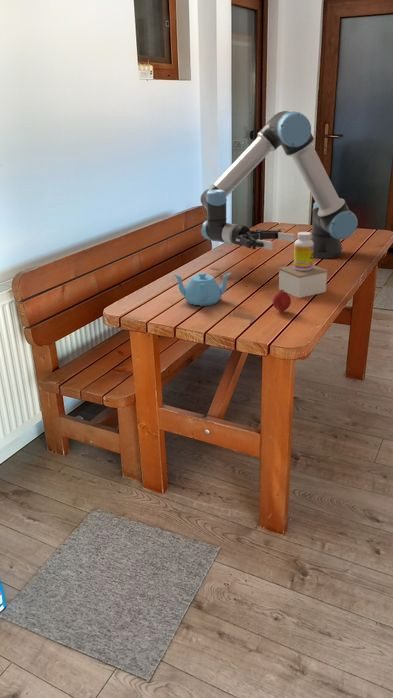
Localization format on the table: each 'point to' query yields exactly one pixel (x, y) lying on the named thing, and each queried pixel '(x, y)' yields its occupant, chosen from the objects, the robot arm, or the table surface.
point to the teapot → (202, 289)
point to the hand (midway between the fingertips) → (283, 242)
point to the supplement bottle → (303, 252)
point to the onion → (281, 301)
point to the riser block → (302, 281)
